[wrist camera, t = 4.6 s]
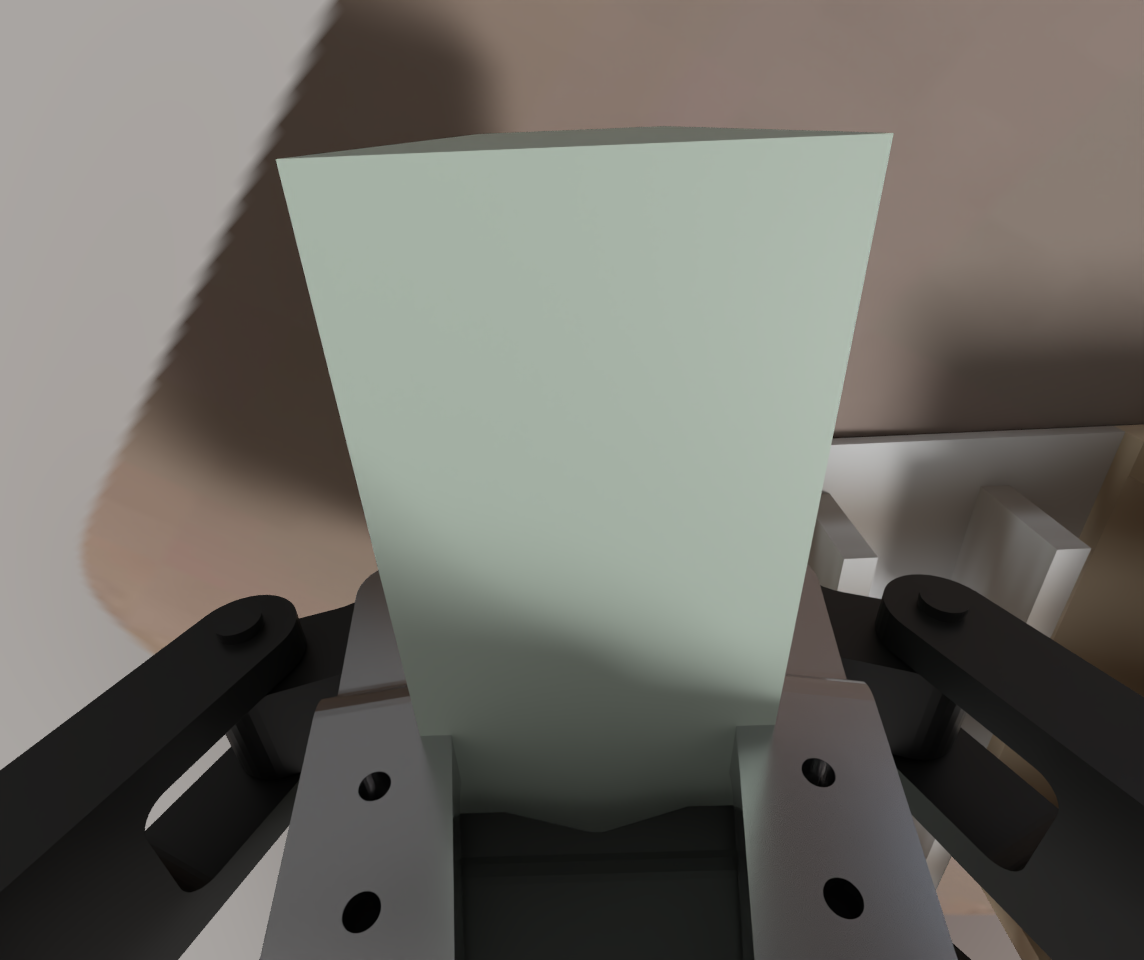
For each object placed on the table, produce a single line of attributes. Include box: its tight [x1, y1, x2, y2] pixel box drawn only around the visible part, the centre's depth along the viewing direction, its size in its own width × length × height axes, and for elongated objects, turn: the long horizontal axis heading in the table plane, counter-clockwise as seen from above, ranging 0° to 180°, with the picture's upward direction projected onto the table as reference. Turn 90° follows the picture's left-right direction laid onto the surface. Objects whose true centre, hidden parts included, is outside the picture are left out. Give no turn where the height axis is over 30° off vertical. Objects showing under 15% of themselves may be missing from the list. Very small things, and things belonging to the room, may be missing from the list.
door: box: [276, 126, 894, 832], centre depth 9 cm, size 12×4×8 cm, turn 2°
